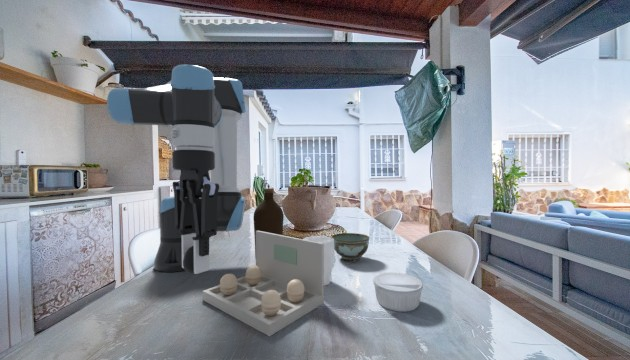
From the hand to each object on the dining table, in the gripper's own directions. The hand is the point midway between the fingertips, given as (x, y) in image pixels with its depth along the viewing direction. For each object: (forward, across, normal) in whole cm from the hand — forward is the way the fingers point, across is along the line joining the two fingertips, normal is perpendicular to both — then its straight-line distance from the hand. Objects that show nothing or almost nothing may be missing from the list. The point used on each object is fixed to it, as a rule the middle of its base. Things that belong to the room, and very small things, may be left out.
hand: (195, 268), depth 54 cm
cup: (+12, +6, +32) cm, 35 cm away
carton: (+12, +3, +14) cm, 19 cm away
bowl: (+12, +2, +56) cm, 58 cm away
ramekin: (+12, +28, +34) cm, 46 cm away
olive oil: (+13, -21, +38) cm, 46 cm away
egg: (+1, 0, 0) cm, 1 cm away
